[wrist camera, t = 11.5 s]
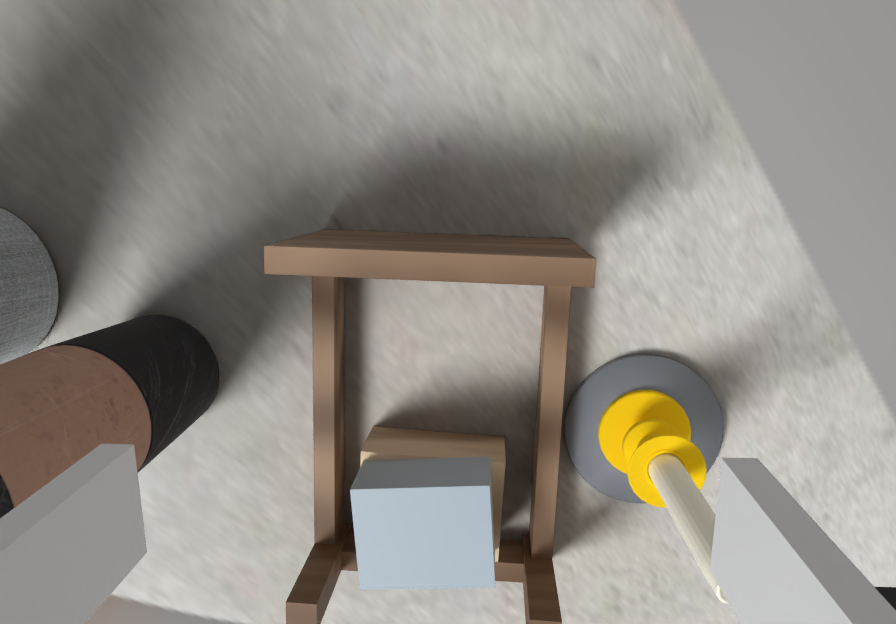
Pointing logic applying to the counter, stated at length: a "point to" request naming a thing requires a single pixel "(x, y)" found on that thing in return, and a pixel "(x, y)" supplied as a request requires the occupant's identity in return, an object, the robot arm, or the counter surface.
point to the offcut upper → (424, 523)
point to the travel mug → (100, 399)
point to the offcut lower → (442, 455)
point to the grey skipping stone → (619, 381)
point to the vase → (24, 288)
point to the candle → (662, 465)
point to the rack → (328, 265)
